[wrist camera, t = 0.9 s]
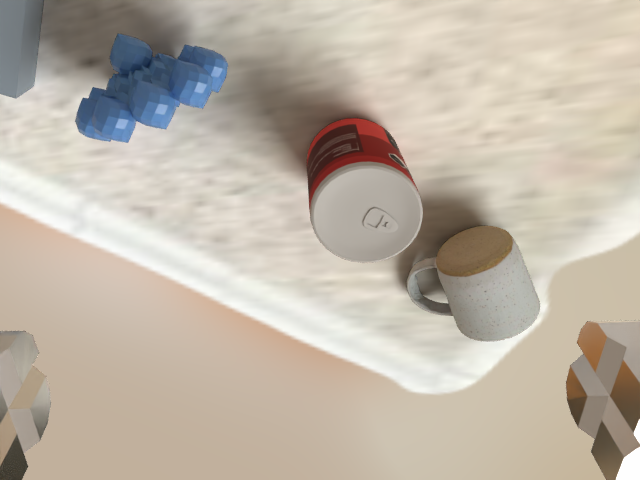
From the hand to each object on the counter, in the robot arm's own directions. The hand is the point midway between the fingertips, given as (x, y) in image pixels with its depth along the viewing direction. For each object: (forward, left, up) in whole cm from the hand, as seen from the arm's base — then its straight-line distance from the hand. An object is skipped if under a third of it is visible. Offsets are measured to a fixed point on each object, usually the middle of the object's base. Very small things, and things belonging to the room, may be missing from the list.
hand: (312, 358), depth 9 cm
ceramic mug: (+18, +22, -41) cm, 50 cm away
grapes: (+8, -8, -41) cm, 42 cm away
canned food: (+11, +9, -41) cm, 43 cm away
